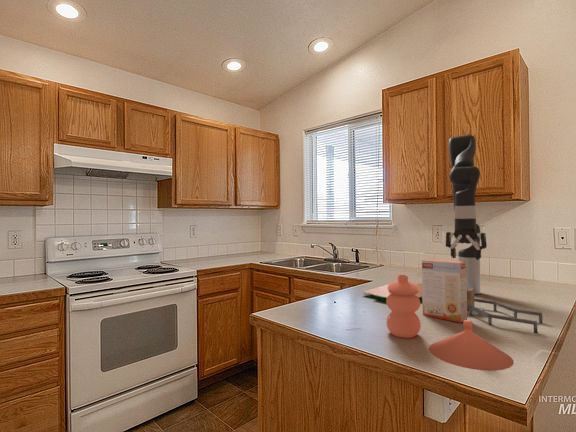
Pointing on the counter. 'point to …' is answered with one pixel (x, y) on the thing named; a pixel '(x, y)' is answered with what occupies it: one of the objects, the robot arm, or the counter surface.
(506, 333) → the counter surface
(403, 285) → the ceramic vessels
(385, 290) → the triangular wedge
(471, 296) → the walnut block
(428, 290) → the cracker box
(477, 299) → the wire channel
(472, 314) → the mat
